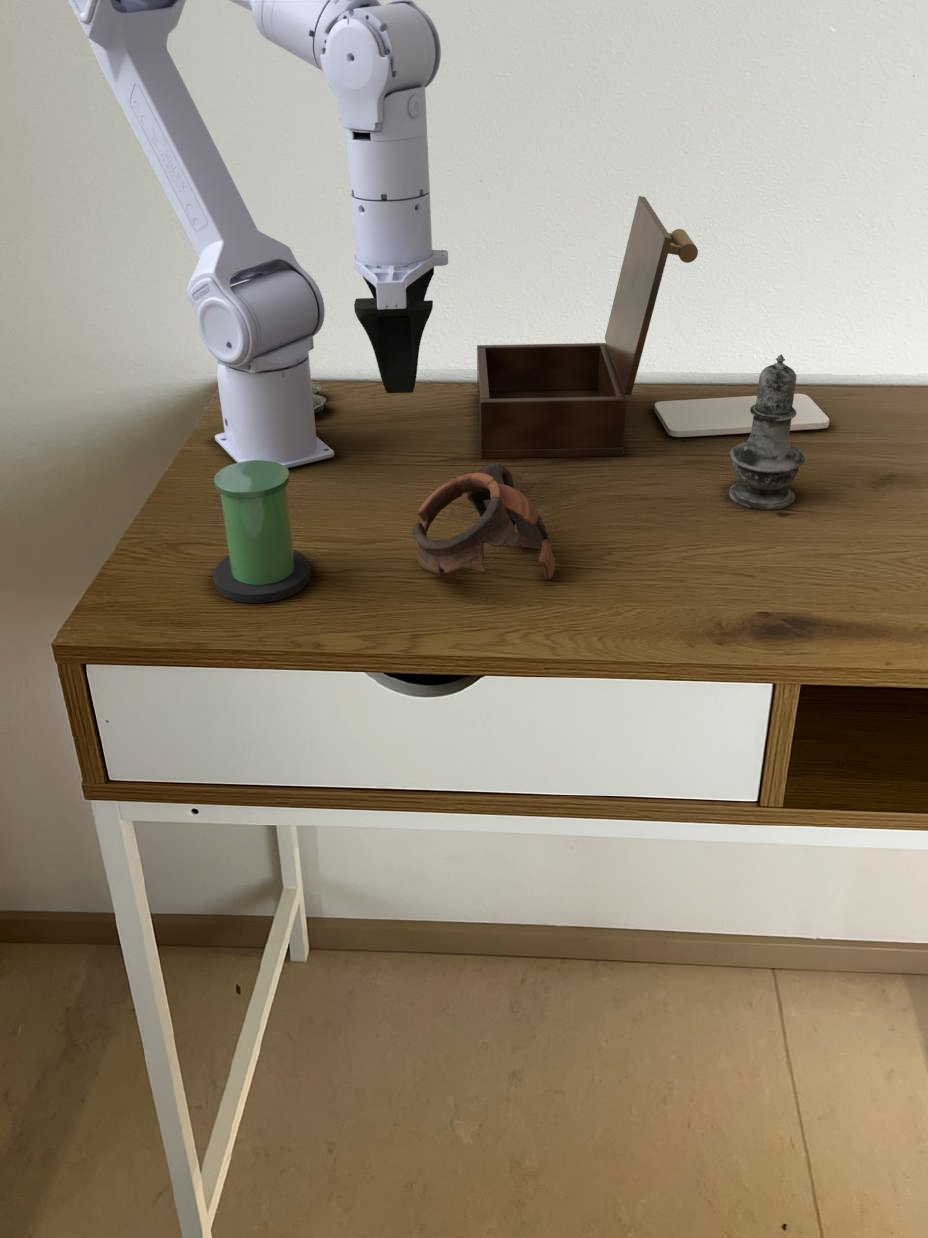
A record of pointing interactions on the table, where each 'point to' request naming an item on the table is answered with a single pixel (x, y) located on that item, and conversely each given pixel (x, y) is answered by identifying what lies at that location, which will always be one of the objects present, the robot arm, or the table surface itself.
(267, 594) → the disc
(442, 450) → the table surface
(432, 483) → the table surface
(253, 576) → the green pot
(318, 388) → the corroded twin loop
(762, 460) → the salt shaker
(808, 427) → the smartphone
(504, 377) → the box
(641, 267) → the lid
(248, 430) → the robot arm
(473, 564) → the broken clay pot rim
